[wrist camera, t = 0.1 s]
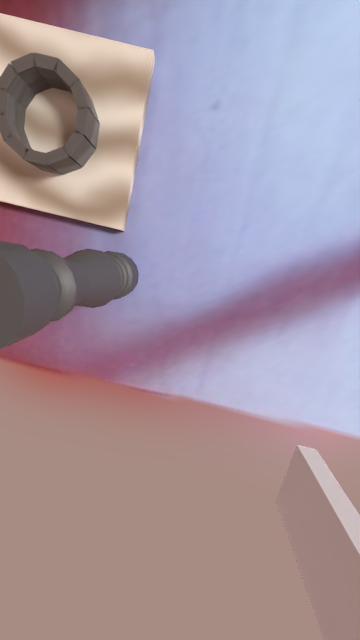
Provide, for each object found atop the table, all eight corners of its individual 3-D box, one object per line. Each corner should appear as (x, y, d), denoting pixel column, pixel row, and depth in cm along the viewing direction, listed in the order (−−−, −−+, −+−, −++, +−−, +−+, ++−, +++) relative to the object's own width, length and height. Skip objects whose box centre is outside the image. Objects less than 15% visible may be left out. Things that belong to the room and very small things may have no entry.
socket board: (-8, 20, 31) (-45, -24, 26) (155, 60, 31) (148, 22, 26) (-19, 196, 36) (-53, 186, 31) (124, 231, 36) (113, 226, 31)
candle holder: (147, 274, 37) (56, 297, 12) (118, 305, 38) (-17, 382, 13) (114, 242, 36) (-52, 199, 12) (86, 275, 37) (-119, 298, 13)
